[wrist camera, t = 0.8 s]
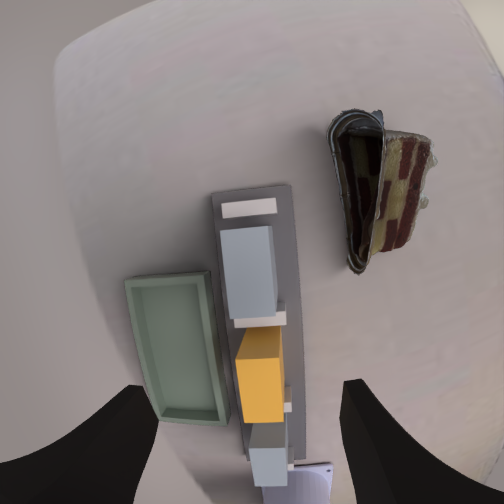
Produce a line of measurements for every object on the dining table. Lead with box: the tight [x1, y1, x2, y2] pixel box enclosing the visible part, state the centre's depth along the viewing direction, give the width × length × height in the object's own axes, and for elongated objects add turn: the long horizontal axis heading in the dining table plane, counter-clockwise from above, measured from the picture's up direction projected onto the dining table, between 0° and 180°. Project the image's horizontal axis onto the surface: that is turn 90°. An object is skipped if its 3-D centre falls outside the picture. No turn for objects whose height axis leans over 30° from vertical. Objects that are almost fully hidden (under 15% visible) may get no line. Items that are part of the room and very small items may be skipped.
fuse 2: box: [249, 412, 288, 486], centre depth 20 cm, size 5×3×6 cm, turn 6°
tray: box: [124, 271, 231, 426], centre depth 23 cm, size 14×7×2 cm, turn 6°
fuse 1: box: [220, 226, 278, 319], centre depth 19 cm, size 5×3×6 cm, turn 6°
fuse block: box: [212, 185, 306, 470], centre depth 22 cm, size 26×6×4 cm, turn 6°
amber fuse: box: [235, 325, 285, 423], centre depth 19 cm, size 5×3×6 cm, turn 6°
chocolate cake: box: [327, 108, 438, 276], centre depth 20 cm, size 10×7×12 cm
